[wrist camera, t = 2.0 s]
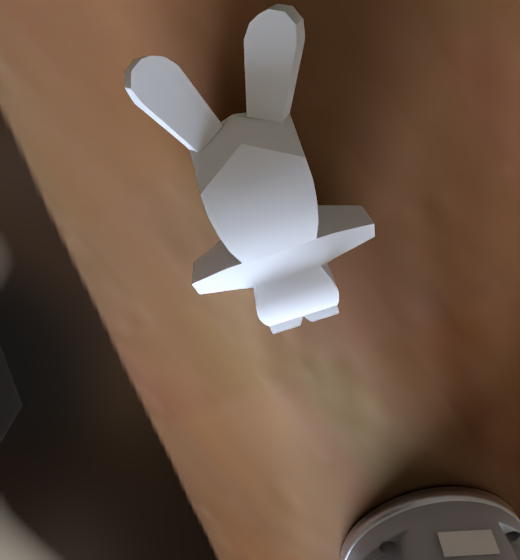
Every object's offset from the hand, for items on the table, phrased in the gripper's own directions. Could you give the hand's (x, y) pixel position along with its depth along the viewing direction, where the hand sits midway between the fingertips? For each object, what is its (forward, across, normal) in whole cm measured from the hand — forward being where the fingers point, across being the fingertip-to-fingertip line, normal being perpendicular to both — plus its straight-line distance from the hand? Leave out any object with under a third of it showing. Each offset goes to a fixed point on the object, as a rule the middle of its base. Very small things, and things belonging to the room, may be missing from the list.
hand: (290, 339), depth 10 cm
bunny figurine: (+15, 0, +1) cm, 15 cm away
